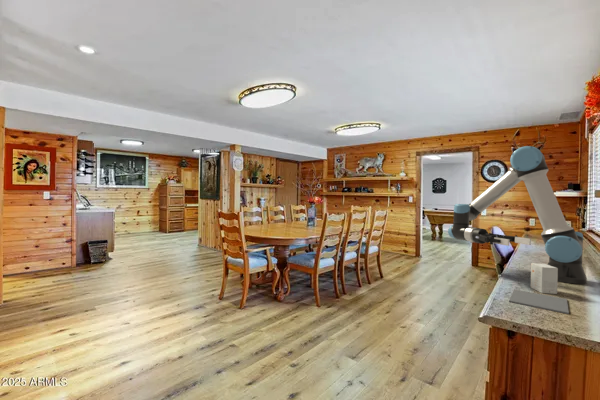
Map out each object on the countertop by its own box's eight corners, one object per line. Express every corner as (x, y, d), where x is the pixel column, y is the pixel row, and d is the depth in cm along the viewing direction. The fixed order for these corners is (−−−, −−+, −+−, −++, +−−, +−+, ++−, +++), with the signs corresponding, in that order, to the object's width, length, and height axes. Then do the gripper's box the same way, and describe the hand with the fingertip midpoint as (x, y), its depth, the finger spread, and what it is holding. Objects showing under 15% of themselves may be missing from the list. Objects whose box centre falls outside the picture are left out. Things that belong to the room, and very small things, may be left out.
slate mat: (514, 290, 120) (514, 289, 120) (566, 300, 110) (566, 298, 110) (509, 301, 107) (509, 300, 107) (568, 314, 96) (568, 312, 96)
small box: (557, 294, 116) (558, 268, 116) (541, 293, 118) (542, 267, 117) (545, 288, 124) (545, 263, 124) (530, 287, 125) (530, 262, 125)
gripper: (493, 242, 154) (538, 249, 134) (457, 243, 146) (499, 251, 126) (494, 227, 154) (539, 233, 134) (458, 228, 146) (499, 234, 126)
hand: (519, 242), depth 130 cm, fingers open, 13 cm apart
